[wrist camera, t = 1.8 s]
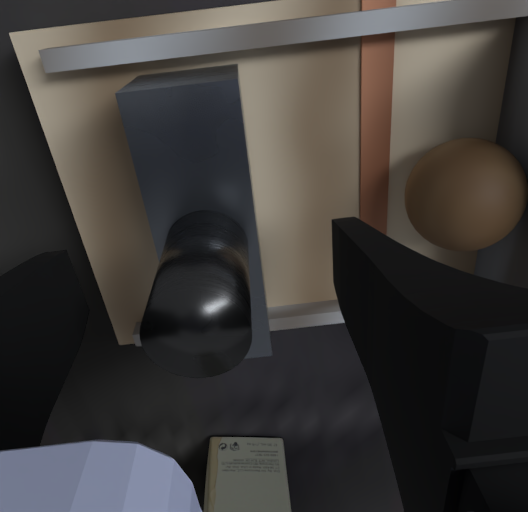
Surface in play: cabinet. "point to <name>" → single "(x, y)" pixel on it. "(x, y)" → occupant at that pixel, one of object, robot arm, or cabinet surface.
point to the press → (307, 135)
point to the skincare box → (246, 475)
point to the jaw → (197, 220)
